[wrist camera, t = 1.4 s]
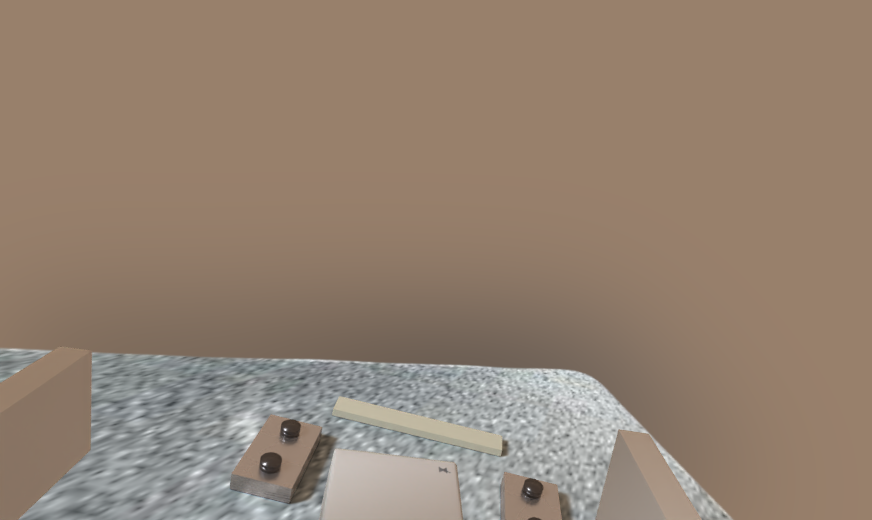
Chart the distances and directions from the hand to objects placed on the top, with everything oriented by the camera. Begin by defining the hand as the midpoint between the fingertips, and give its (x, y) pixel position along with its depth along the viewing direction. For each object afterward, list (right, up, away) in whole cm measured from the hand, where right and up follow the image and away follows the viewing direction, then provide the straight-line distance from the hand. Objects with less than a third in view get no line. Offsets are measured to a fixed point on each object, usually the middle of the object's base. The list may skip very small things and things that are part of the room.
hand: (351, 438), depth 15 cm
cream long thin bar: (+1, -10, +35) cm, 36 cm away
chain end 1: (-9, -10, +27) cm, 30 cm away
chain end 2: (+9, -14, +27) cm, 31 cm away
